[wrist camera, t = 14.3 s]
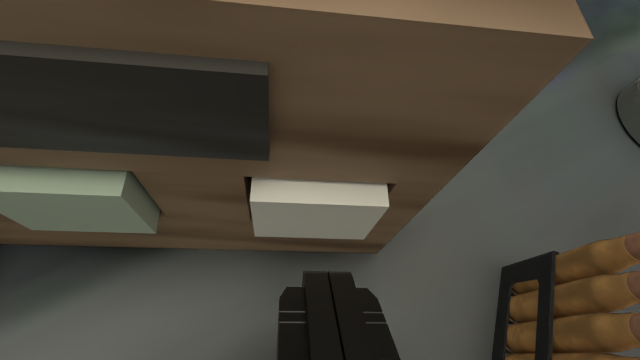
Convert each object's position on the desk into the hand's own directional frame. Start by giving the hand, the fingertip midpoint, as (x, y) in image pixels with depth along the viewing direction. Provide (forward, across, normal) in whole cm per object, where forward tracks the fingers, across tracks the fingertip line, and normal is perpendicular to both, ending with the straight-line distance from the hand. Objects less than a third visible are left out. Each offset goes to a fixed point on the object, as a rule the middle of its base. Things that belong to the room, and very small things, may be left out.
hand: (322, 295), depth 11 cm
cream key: (+8, 0, -1) cm, 8 cm away
